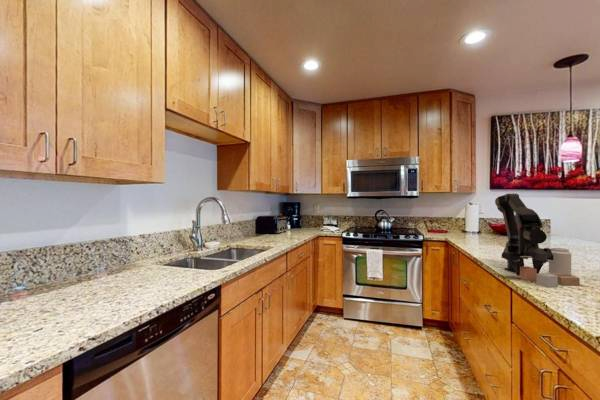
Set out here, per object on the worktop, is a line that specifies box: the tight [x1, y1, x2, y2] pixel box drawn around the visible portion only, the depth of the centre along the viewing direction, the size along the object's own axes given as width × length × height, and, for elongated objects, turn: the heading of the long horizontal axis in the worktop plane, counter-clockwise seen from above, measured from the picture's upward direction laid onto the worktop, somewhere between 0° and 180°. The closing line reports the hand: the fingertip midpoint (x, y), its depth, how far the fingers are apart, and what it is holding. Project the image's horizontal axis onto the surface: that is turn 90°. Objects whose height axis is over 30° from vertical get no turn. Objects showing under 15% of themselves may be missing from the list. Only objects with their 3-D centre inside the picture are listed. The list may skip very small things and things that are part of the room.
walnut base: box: [547, 272, 581, 287], centre depth 114 cm, size 7×7×4 cm
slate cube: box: [536, 272, 559, 289], centre depth 111 cm, size 4×4×4 cm
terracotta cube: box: [517, 266, 537, 280], centre depth 122 cm, size 4×4×4 cm
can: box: [548, 247, 572, 275], centre depth 126 cm, size 8×8×12 cm
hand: (527, 275), depth 122 cm, fingers open, 8 cm apart
